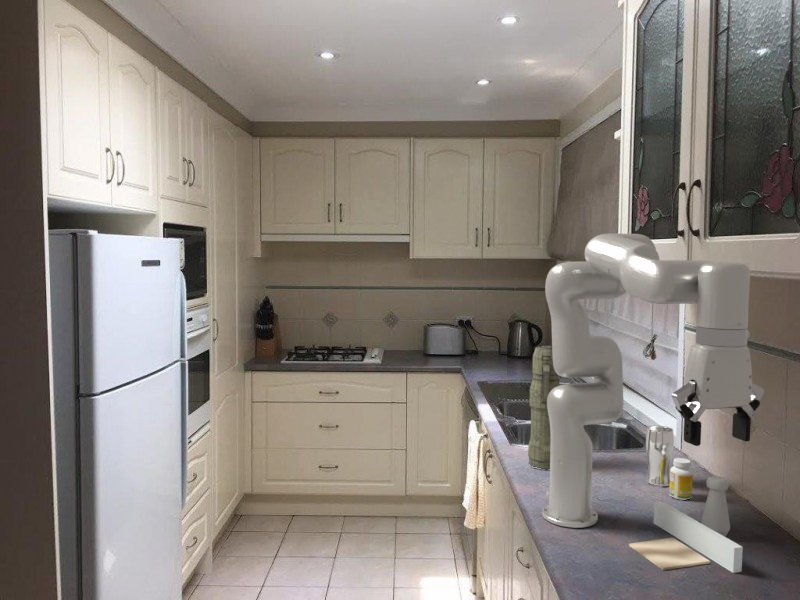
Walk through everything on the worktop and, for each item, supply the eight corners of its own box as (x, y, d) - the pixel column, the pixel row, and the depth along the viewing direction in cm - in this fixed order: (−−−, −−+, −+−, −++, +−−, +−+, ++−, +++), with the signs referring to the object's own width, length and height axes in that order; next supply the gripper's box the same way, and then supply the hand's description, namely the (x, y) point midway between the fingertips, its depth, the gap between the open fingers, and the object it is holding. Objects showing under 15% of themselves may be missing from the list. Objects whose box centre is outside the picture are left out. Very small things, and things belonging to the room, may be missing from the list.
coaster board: (629, 545, 138) (629, 543, 138) (673, 539, 141) (673, 537, 141) (663, 570, 128) (663, 567, 128) (709, 563, 131) (710, 560, 131)
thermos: (531, 472, 184) (533, 349, 182) (525, 458, 196) (528, 343, 193) (562, 472, 184) (565, 349, 181) (555, 459, 195) (558, 343, 193)
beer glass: (659, 477, 180) (661, 424, 179) (678, 486, 174) (680, 431, 173) (638, 480, 178) (640, 426, 177) (656, 489, 171) (658, 433, 170)
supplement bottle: (665, 496, 166) (666, 459, 166) (675, 491, 170) (676, 455, 169) (686, 502, 162) (687, 465, 161) (695, 497, 166) (697, 460, 165)
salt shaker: (716, 543, 140) (718, 484, 139) (694, 532, 145) (696, 475, 144) (735, 538, 142) (738, 480, 141) (713, 528, 147) (716, 472, 146)
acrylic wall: (653, 523, 150) (654, 502, 150) (661, 522, 150) (661, 501, 150) (733, 573, 127) (734, 548, 126) (741, 571, 127) (742, 546, 127)
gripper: (746, 333, 112) (742, 431, 113) (660, 337, 107) (656, 438, 109) (782, 339, 105) (777, 443, 106) (692, 343, 100) (688, 452, 101)
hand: (716, 441), depth 107 cm, fingers open, 9 cm apart
